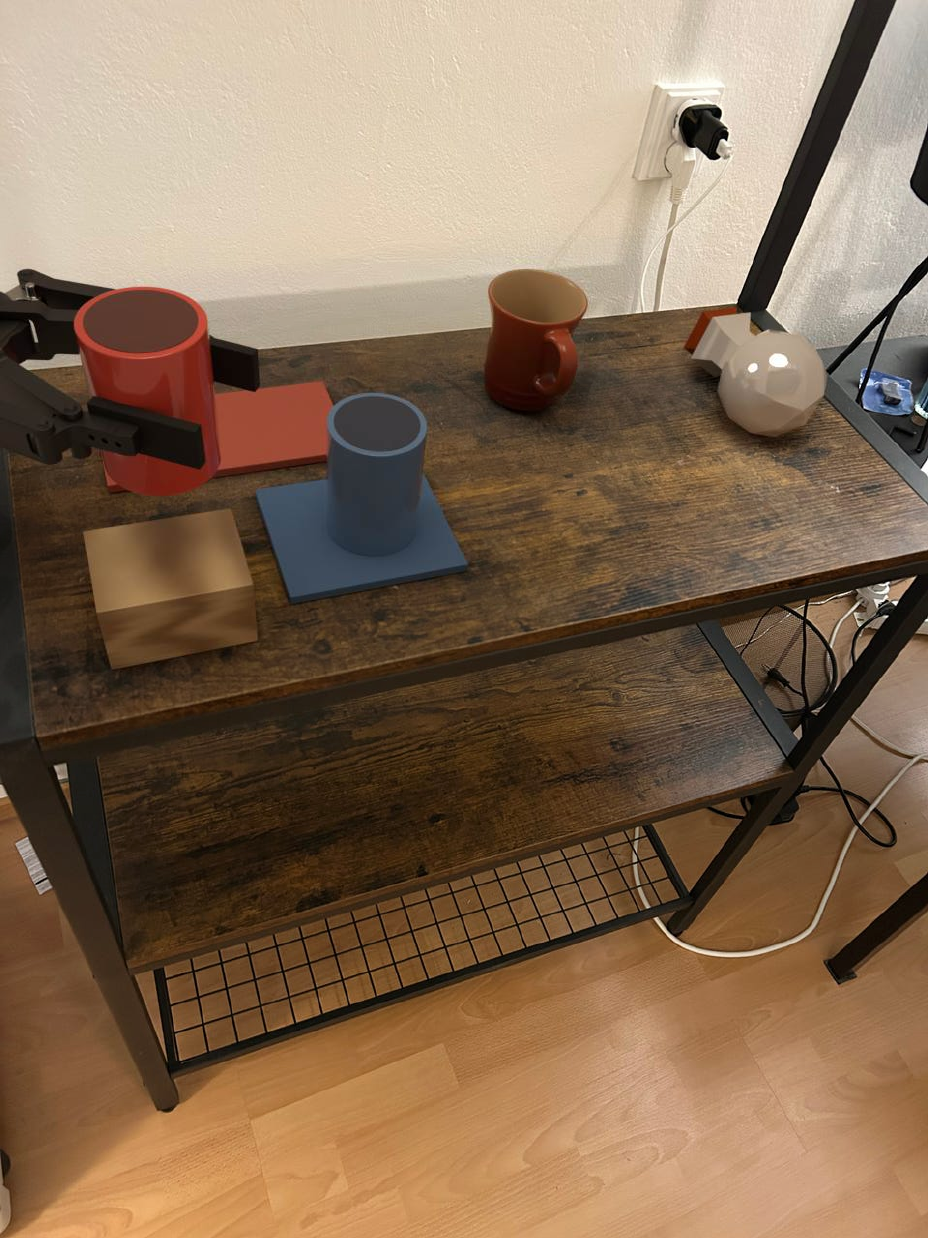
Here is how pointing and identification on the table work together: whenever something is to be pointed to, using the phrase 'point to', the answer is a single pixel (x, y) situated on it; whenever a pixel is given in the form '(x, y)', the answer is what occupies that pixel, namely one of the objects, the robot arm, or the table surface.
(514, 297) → the mug
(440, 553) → the blue mat
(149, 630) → the wooden block
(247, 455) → the red mat
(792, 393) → the potion bottle
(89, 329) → the red cup
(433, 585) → the table surface
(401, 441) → the blue cup
